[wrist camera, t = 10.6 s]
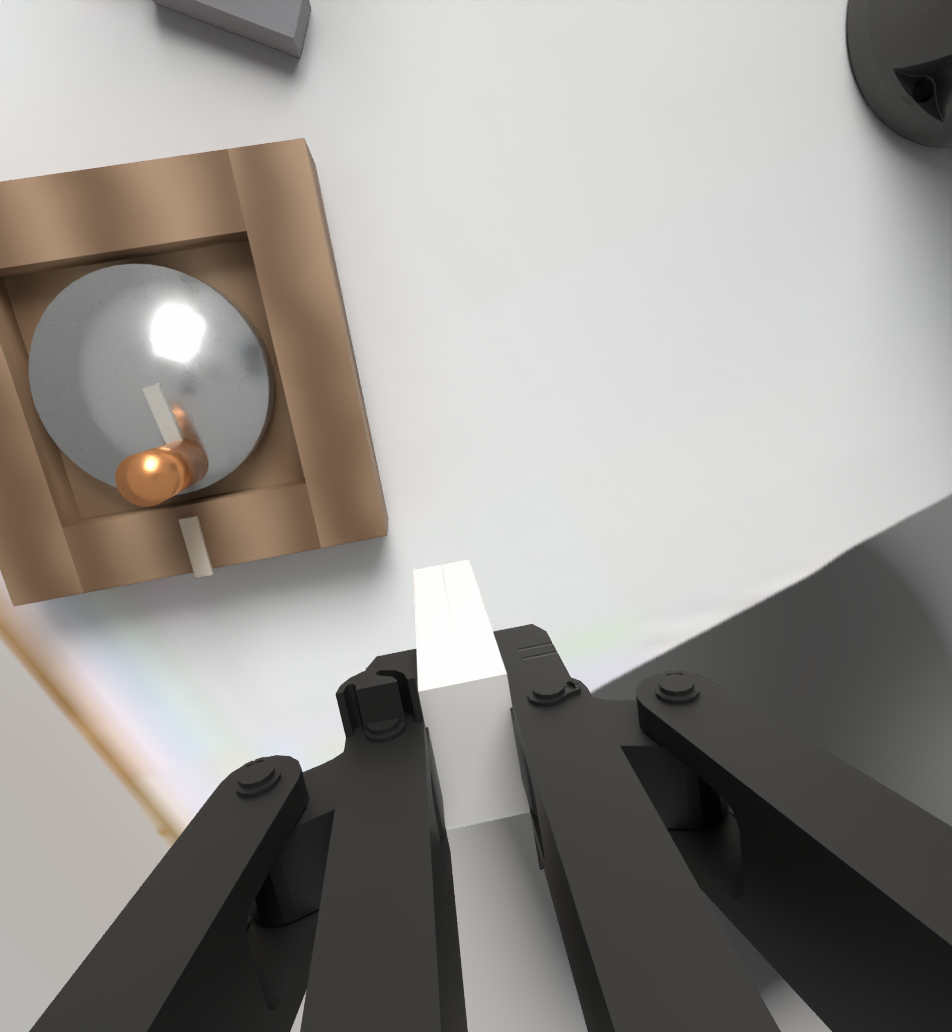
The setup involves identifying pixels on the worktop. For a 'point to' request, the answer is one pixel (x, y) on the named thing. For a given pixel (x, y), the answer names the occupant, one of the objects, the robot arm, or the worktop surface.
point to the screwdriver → (253, 19)
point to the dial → (151, 380)
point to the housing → (271, 308)
